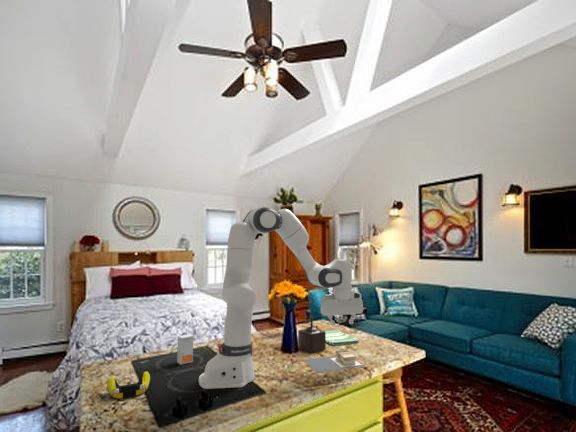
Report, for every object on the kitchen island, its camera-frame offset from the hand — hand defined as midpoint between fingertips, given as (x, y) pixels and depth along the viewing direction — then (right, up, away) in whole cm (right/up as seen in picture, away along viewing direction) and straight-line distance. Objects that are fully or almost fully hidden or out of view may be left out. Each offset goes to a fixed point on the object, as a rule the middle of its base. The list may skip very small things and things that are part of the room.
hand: (341, 324), depth 161 cm
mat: (-4, -17, -2) cm, 18 cm away
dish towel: (+2, -20, +37) cm, 42 cm away
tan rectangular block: (+2, -17, -1) cm, 17 cm away
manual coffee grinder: (-14, -19, +21) cm, 31 cm away
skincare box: (-72, -18, 0) cm, 74 cm away
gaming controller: (-84, -16, -31) cm, 91 cm away
